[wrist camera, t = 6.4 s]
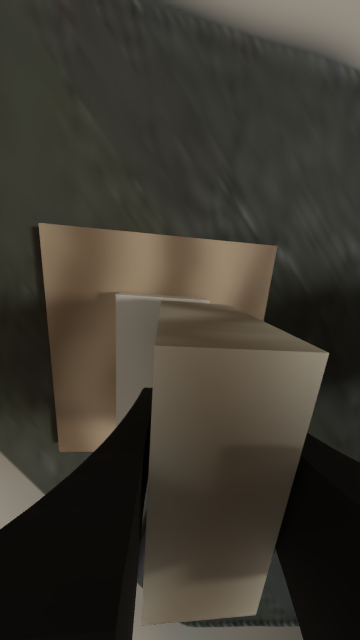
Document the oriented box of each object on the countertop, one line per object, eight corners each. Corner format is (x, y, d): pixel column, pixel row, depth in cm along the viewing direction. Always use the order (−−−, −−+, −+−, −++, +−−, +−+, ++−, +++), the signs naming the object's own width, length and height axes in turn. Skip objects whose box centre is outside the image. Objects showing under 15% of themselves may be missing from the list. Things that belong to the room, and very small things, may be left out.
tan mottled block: (228, 304, 11) (329, 353, 4) (209, 442, 13) (255, 614, 7) (161, 300, 11) (154, 345, 4) (153, 442, 13) (141, 625, 6)
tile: (209, 300, 12) (115, 294, 12) (195, 428, 15) (116, 428, 14) (204, 297, 14) (121, 291, 13) (192, 413, 16) (121, 412, 16)
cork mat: (269, 248, 14) (277, 246, 13) (235, 441, 18) (239, 450, 18) (48, 226, 13) (38, 222, 12) (65, 441, 17) (59, 451, 16)
